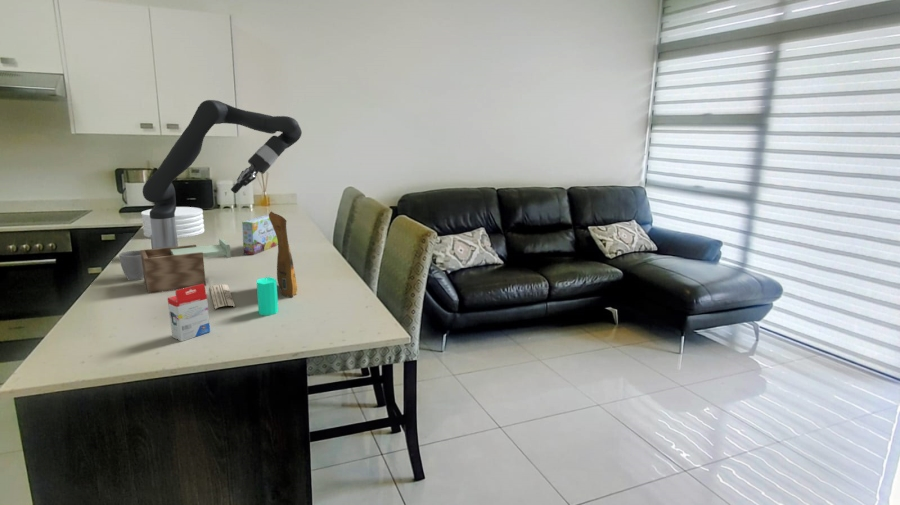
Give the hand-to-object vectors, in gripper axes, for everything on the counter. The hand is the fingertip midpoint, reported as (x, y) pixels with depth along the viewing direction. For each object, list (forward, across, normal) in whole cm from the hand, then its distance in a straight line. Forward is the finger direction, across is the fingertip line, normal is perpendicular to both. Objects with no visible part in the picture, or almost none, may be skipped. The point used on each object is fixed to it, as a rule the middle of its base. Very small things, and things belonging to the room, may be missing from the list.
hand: (233, 191), depth 193 cm
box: (+39, +7, +5) cm, 40 cm away
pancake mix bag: (+17, +34, +28) cm, 47 cm away
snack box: (+10, -30, +35) cm, 47 cm away
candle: (+25, +52, +20) cm, 61 cm away
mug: (+47, -9, -2) cm, 48 cm away
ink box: (+41, +58, +4) cm, 72 cm away
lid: (+26, +7, +6) cm, 28 cm away
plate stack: (+31, -87, +14) cm, 93 cm away
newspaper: (+32, +30, +14) cm, 46 cm away
